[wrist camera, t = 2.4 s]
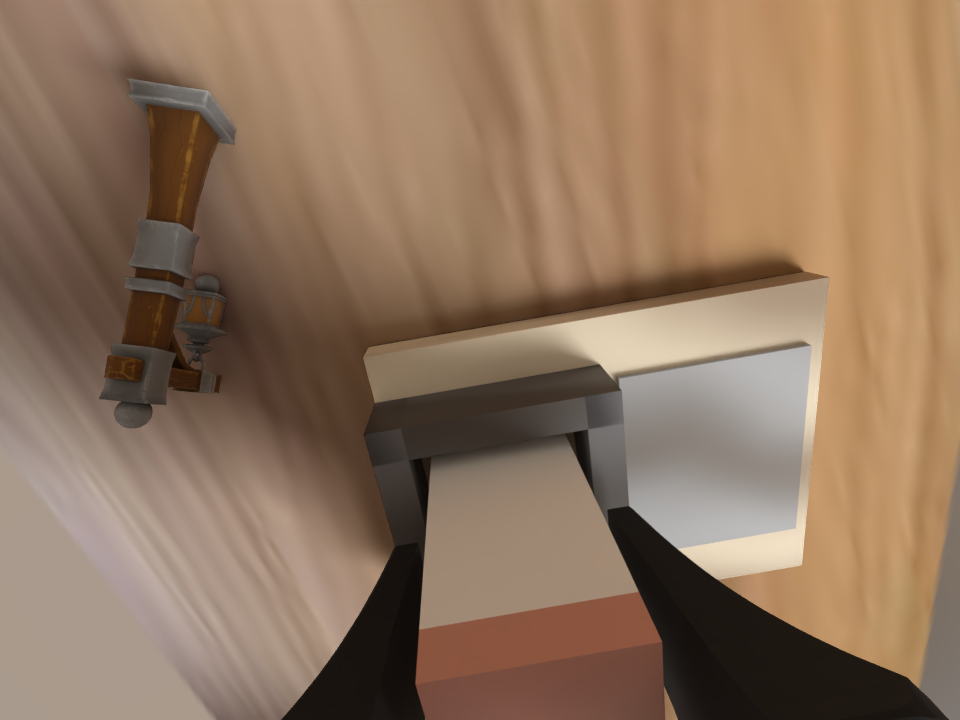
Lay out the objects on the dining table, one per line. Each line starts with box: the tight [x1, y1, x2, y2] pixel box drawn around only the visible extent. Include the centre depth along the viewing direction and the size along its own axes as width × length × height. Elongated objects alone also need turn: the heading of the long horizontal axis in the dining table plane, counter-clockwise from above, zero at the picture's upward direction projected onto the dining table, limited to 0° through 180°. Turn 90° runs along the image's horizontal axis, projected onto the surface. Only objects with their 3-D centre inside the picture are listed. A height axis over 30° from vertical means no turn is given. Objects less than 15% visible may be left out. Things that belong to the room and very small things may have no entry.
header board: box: [363, 272, 829, 580], centre depth 15 cm, size 11×14×3 cm
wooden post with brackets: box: [99, 78, 237, 428], centre depth 13 cm, size 2×8×4 cm, turn 172°
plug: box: [415, 434, 665, 720], centre depth 12 cm, size 5×4×8 cm
